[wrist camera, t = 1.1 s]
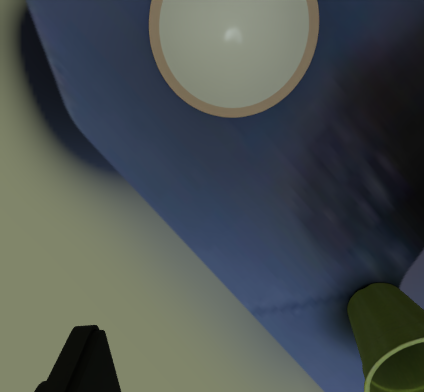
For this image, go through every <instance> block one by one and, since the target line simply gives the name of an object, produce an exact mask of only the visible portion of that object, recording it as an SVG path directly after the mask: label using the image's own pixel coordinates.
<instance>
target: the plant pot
mask: <svg viewBox="0 0 424 392" xmlns="http://www.w3.org/2000/svg"><path fill="white" fill-rule="evenodd" d="M347 312H348V316H349V320H350V323H351V327H352V330H353V333H354V336H355V340H356V343H357V347H358V350H359V353H360V357H361V360H362V364H363V365H362V366H363V373H364V377H365V383H364V392H424V310H423V309H422V308H421V307H420V306H418V305H417V304H416V303H415V302H414V301H413V300H411V299H410V298H409V297H408V296H407V295H406V294H404V293H403V292H402V291H401V290H400V289H398V288H397V287H395V286H393V285H391V284H387V283H374V284H370V285H369V286H368V287H366V288H364V289H362V290H358V291H357V292H356V293H355V294H354V295H353V296H352V297H351V299H350V301H349V303H348V308H347Z"/></svg>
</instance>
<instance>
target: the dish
mask: <svg viewBox="0 0 424 392" xmlns="http://www.w3.org/2000/svg"><path fill="white" fill-rule="evenodd" d="M318 32H319V10H318V2H317V0H152V2H151V6H150V14H149V36H150V43H151V48H152V52H153V56H154V58H155V61H156V64H157V66H158V68H159V70H160V72H161V74H162V76H163V78H164V79H165V81H166V82H167V83H168V85H169V86H170V87H171V89H172V90H173V91H174V92H175V93H176V94H177V95H178V96H179V97H180V98H181V99H183V100H184V101H185V102H186V103H188V104H189V105H191V106H193V107H194V108H196V109H198V110H200V111H202V112H205V113H208V114H211V115H215V116H220V117H231V118H234V117H245V116H249V115H254V114H256V113H259V112H262V111H264V110H266V109H268V108H270V107H272V106H274V105H275V104H277V103H278V102H280V101H281V100H282V99H283V98H285V97H286V96H287V95H288V94H289V93H290V92H291V91H292V90H293V89H294V88H295V87H296V85H297V84H298V83H299V81H300V80H301V79H302V77H303V76H304V74H305V72H306V70H307V68H308V67H309V65H310V62H311V60H312V57H313V55H314V51H315V47H316V44H317V38H318Z"/></svg>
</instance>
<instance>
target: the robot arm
mask: <svg viewBox="0 0 424 392" xmlns="http://www.w3.org/2000/svg"><path fill="white" fill-rule="evenodd" d="M34 392H121V389H120V386H119V382H118V378H117V374H116V371H115V367H114V363H113V359H112V356H111V352H110V349H109V344H108V341H107V337H106V334H105V331H104V330H99V328H98V326H97V325H88V326H76V327H74V328H73V330H72V331H71V333H70V335H69V337H68V339H67V341H66V343H65V345H64V347H63V349H62V351H61V353H60V355H59V357H58V359H57V361H56V363H55V365H54V367H53V369H52V371H51V373H50V375H49V377H48V379H47V381H43V382H42V383H41V384H39V385H38V387H37V388H36V390H35V391H34Z"/></svg>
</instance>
